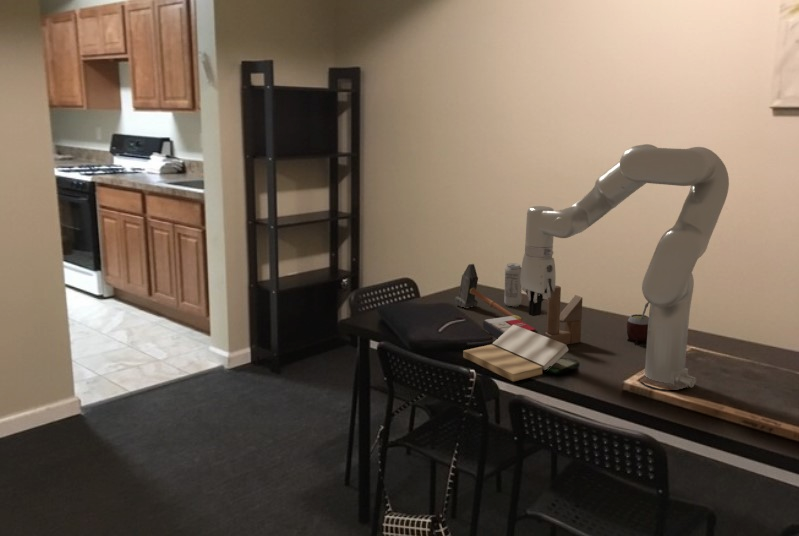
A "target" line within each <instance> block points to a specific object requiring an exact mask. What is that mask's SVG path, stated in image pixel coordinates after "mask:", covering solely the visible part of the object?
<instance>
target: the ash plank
mask: <svg viewBox="0 0 799 536" xmlns="http://www.w3.org/2000/svg"><path fill="white" fill-rule="evenodd" d="M491 345H493V346H496V347H498V348H500V349H503V350H505V351H507V352H509V353H512V354H514V355H516V356H519V357H521V358H523V359H525V360H528V361H530V362H532V363H535V364H537V365H539V366H541V367H542V371H545V370H546V369H547V367H549V366H551V367H553V365H554V364H556V363H557V362H558V361H559V360H560V359H561V358H562V357H563V356H564V355H565V354H566V353H567V352H568V351H569V348H568V346H567V345H568V344H563V343H561V342H558V341H556V340H553V339H550V338H548V337H545V336H544V335H542V334H540V333H538V332H537V333H535V332H532V331H529V330H527V329H524V328H522V327H519V326H516V325H514V324H513V325H512V326H511V327H510V328H509V329H508V330H507V331H505V332H504V333H503V334H502V335H501V336H500V337H499V338H498V339H497V338H496V339H495V341H493V342H492V344H491Z"/></svg>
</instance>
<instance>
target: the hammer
mask: <svg viewBox="0 0 799 536" xmlns="http://www.w3.org/2000/svg"><path fill="white" fill-rule="evenodd" d="M478 281H479V277H478V274H477V270H476V266H475V264H474V263H469V264H468V265H467V267H466V269H465V271H463V274H462V275H461V280H460V287H459V291H458V296H455V297H454V303H455V304H456V305H458V306H459V307H460V308H462V307H464V308H466V307H471V306H475V307H477V306H478V304H479V302H478V300H476V297H477V298H478V299H480V300H482V301H483V302H484V303H486V304H487V305H489V306H490V307H491V308H493V309H495V310H496V311H498V312H500V313H502V314H503V315H504V316H505V317H508V316H512V317H514V318H516V319H518V320H520V321H522V322H524V320H523V318H522V317H520V315H515V314H514V313H512V312H511V311H509V310H507V309H506V308H504V307H503V306H501V305H500V304H498V303H496V301H494V300H492V299H490V298H489V297H487V296H486V295H485V294H483V293H482V292H480V291H478V290H477V287H478ZM476 305H477V306H476ZM464 308H463V309H464ZM471 308H472V307H471ZM466 309H467V308H466Z"/></svg>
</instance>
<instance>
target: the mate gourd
mask: <svg viewBox="0 0 799 536" xmlns="http://www.w3.org/2000/svg"><path fill="white" fill-rule="evenodd" d="M649 305H650V303H649V302H648V301H647V302H646V303H645V305H644V309H643V312H642V314H631V315H630V316H629V317H628V319H627V321H626V334H627V339H626V340H627V342H632V343H634V345H635V346H638V345H639V344H640V343H641V344H646V345H647V334H648V321H649V315H645V313H646V311H647V308H648V307H649Z"/></svg>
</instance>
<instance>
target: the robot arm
mask: <svg viewBox="0 0 799 536" xmlns="http://www.w3.org/2000/svg"><path fill="white" fill-rule="evenodd" d="M646 184H651V185H667V186H678V187H687V186H688V187H689V186H690V187H689V188H690V189H689V191H688V193H687V196H686V199H685V200H684V202H683V205H682V208H681V211H680V213H679V216H678V217H677V219H676V221H675V224H674V225H673V226H672V227H671V228H669V229H667V230H666V231H665V232H664V233H663V235H662V236H661V237H660V239H659V240H658V243H657V245H656V247H655V250H654V252H653V255H652V258H651V259H650V262H649V264H648V267H647V269H646V272H645V274H644V277H643V279H642V284H641V291H642V294H643V297H644V299H645V300H646V301H647V302H649V310H648V311H649V312H648V317H649V321H648V334H647V344H646V349H645V351H646V352H645V361H644V362H645V364H644V365H645V366H644V370H642V371H640V372H639V373H638V375H639V374H640V373H642V372H643V371H645V376H646V377H648V378H649V379H652V380H655V381H659V382H664V383H671V384H673V385H674V384H684V385H686V386H689V387H688V388H693V387H694V386H695V384H696V382H697V377H696V376H692V375H690V374H689V368H687V367H686V360H687V357H686V356H687V347H688V345H687V344H688V335H689V324H690V314H691V313H690V311H691V307H692V306H691V305H692V300H693V299H692V298H693V293H694V287H695V286H694V285H695V282H694V281H695V280H694V275H693V271H694V268H695V266H696V264H697V262H698V261H699V258H701V257H702V256H703V255H704V254H705V253H706V250H707V249H708V245H709V243H710V239H711V238H712V235H713V233H714V231H715V228H716V225H717V223H718V220H719V217H720V216H721V213H722V210H723V208H724V205H725V203H726V200H727V197H728V192H729V187H730V179H729V174H728V169H727V167H726V164H725V163H724V161H723V160H722V159H721V157H720V156H719V155H717V153H715V152H714V151H713V150H711V149H709V148H707V147H704V146H703V147H702V146H693V147H690V148H673V147H672V148H671V147H670V148H667V147H657V146H656V145H653V144H648V143H646V144H644V143H643V144H640V145H633V146H632V147H629V148H628V149H626V151H624V153H623V154H622V155H621V157H620V160H619V161H618V162H617V163H615V164H614V165H613V166H612V167H610V168H609V169H607V171H604V172H603V173H602V174H601V175H599V177H598V178H597V179H596V180H595V183H594V186H593V188H592V189H591V190H590V191H589V192H587V194H585V195H584V196H583V197H582V198H580V199H579V200H578V201H576V203H574V204H573V205H571V206H568V207H566V208H563V209H560V210H558V209H557V210H554V208H552V207H550V206H543V205H536V206H530V207H529V208H528V209H527V212H526V222H525V223H526V224H525V226H526V227H525V239H524V240H525V241H524V242H525V243H524V254H523V258H522V263H521V266H520V267H521V276H520V284H521V286H522V291H523V292H524V293H525V294H526V295H527V301H529V303H528V315H529V316H532V317H536V316H541V315H542V304H543V302H544V300H548V299H549V298H551V294H550V292H554V291H555V286H556V263H555V258H554V257H553V255H554V251H553V250H554V238H558V239H569V238H571V237H574V236H575V235H577V234H580V233H582V232H584V231H586V230H587V229H589V228H590V227H591V226H593V224H595V223H596V222H598V221H599V220H601V218H603V217H604V216H606V215H607V214H608V213H609V212H610V211H612V210H613V209H614V208H616V207H617V206H619V205H620V204H621V203H623V202H624V201H625V200H626V199H627V198H629V197H630V196H631V195H632V194H634V193H635V192H636V191H638V190H639V189H640V188H642V187H644V186H645V185H646Z"/></svg>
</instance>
